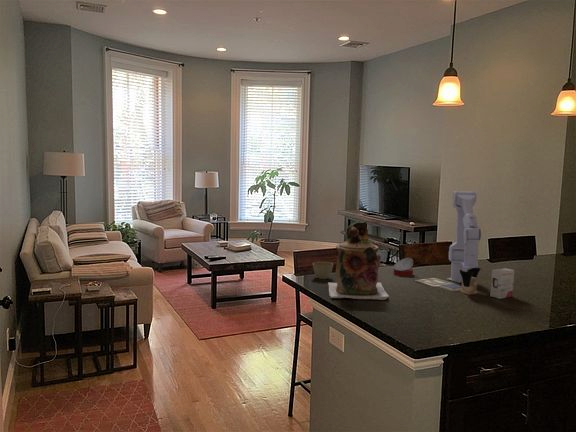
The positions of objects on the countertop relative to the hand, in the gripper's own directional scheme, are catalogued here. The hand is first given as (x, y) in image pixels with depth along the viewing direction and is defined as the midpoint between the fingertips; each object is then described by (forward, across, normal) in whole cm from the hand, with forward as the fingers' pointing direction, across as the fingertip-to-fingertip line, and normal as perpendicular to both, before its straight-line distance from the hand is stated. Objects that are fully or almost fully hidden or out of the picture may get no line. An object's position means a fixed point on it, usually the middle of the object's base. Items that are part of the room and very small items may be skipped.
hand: (469, 285), depth 218 cm
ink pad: (+3, -3, -8) cm, 9 cm away
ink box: (+4, -3, +13) cm, 14 cm away
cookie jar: (+4, +34, -37) cm, 50 cm away
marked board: (+3, -7, -19) cm, 20 cm away
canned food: (+4, -15, -39) cm, 42 cm away
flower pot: (+4, +20, -64) cm, 67 cm away
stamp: (+3, 0, 0) cm, 3 cm away
